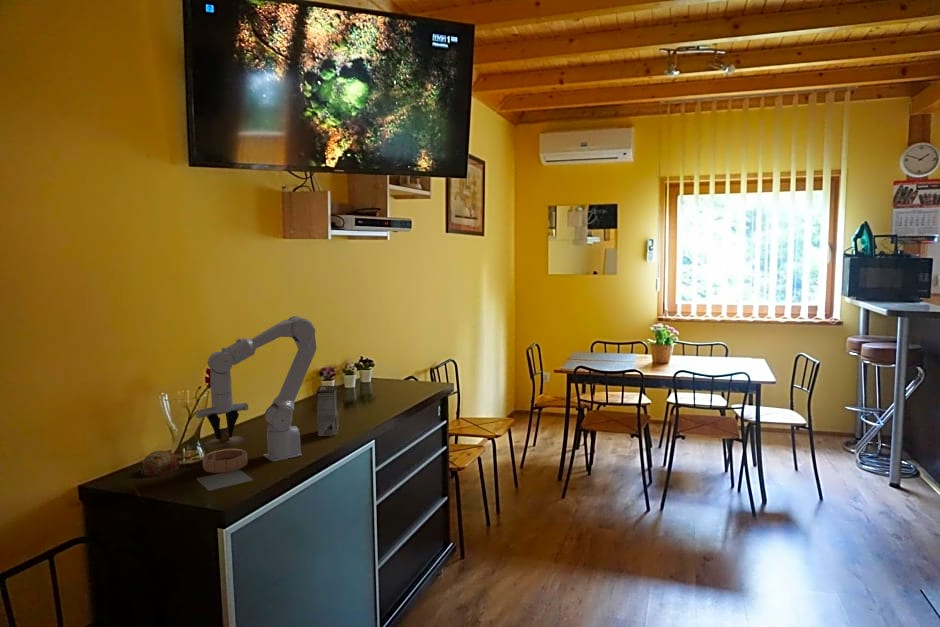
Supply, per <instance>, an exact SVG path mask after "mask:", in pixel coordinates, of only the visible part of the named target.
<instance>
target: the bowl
mask: <svg viewBox="0 0 940 627" xmlns="http://www.w3.org/2000/svg"><path fill="white" fill-rule="evenodd" d="M247 464H248V451H246V450H244V449H242V448H240V449H239V448H222V449H221V450H220V449H219V450H218V449H217V450H214V451H211V452H209V453H206V454H204V456H203V457H202V470H204V471H205V472H207V473H214V474H219V473H223V472H228V471H232V470H237V469H240V470H241V469H242V468H245V467H246V466H247Z"/></svg>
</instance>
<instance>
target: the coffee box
mask: <svg viewBox="0 0 940 627" xmlns="http://www.w3.org/2000/svg"><path fill="white" fill-rule="evenodd" d="M338 407H339V406H338V386H337V385H319V386H318V387H317V390H316V411H317V412H316V414H317V415H316V416H317V436H327V435H336V434H337V435H338V432H337V431H339V429H338V428H339V411H338V410H339V408H338ZM337 435H336V436H337Z"/></svg>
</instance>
